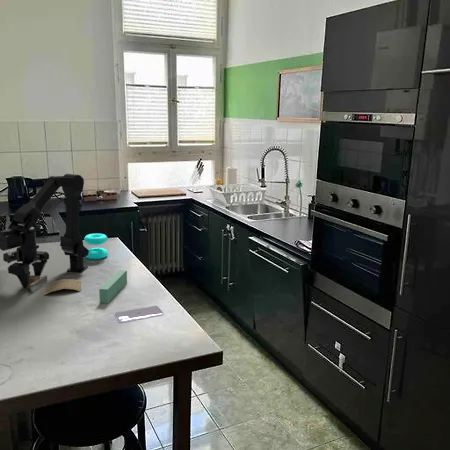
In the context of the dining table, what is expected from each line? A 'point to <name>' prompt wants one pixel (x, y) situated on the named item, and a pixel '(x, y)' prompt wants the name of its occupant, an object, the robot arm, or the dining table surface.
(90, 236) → the donuts
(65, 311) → the dining table surface
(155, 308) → the mobile phone
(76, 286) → the clay tablet
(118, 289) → the bar
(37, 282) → the tan block on bar
